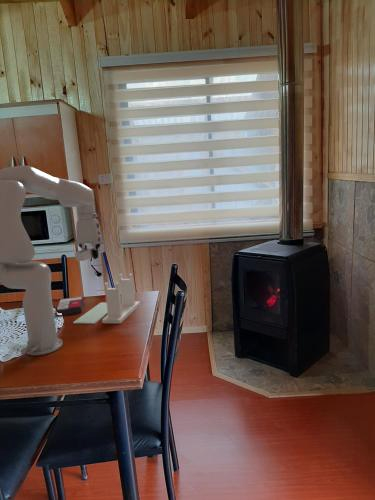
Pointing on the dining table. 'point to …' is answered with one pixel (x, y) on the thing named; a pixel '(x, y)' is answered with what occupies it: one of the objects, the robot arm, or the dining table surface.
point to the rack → (113, 300)
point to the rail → (88, 253)
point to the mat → (93, 314)
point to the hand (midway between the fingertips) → (91, 258)
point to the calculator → (70, 306)
